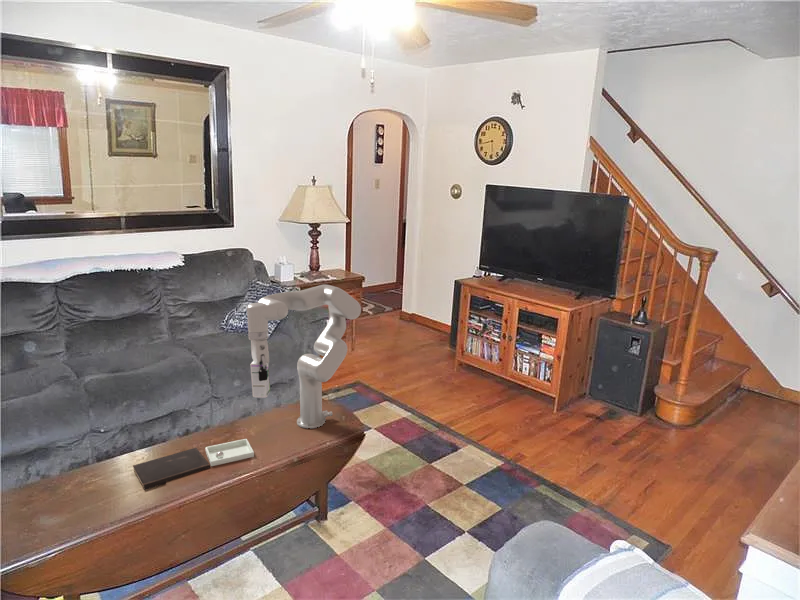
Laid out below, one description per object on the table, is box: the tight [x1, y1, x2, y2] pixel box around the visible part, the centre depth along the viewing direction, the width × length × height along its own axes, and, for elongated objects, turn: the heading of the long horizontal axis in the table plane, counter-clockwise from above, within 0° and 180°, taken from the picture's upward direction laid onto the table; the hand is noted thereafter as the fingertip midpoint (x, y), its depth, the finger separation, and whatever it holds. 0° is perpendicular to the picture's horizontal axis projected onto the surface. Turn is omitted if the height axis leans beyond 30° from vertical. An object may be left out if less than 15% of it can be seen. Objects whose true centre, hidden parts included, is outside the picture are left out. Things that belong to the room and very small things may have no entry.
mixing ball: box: [216, 451, 224, 459], centre depth 206 cm, size 3×3×3 cm
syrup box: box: [249, 360, 271, 399], centre depth 215 cm, size 6×6×14 cm
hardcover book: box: [132, 447, 211, 491], centre depth 200 cm, size 16×23×2 cm
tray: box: [205, 438, 255, 467], centre depth 210 cm, size 16×12×2 cm
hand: (260, 376), depth 215 cm, fingers closed on syrup box, 7 cm apart
